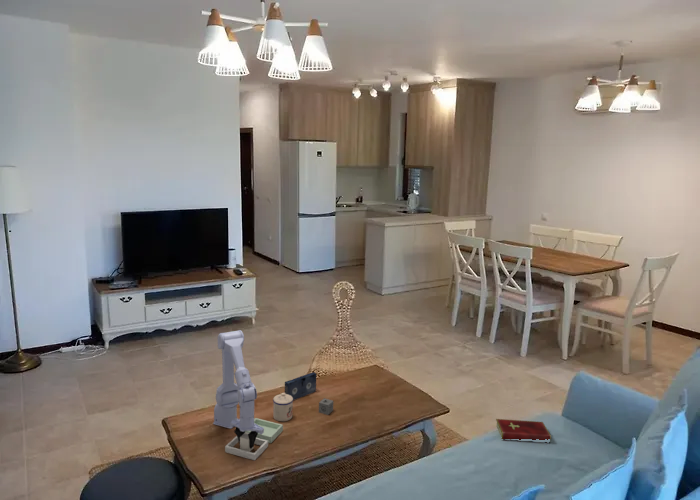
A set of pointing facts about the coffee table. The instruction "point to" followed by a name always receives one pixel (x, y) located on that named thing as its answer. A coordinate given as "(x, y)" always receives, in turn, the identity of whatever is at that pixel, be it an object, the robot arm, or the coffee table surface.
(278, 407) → the teacup with lid
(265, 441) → the bin
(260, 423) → the green bin
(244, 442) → the cream block
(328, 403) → the dice cube
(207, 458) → the coffee table surface
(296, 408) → the coffee table surface
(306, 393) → the vhs cassette tape
